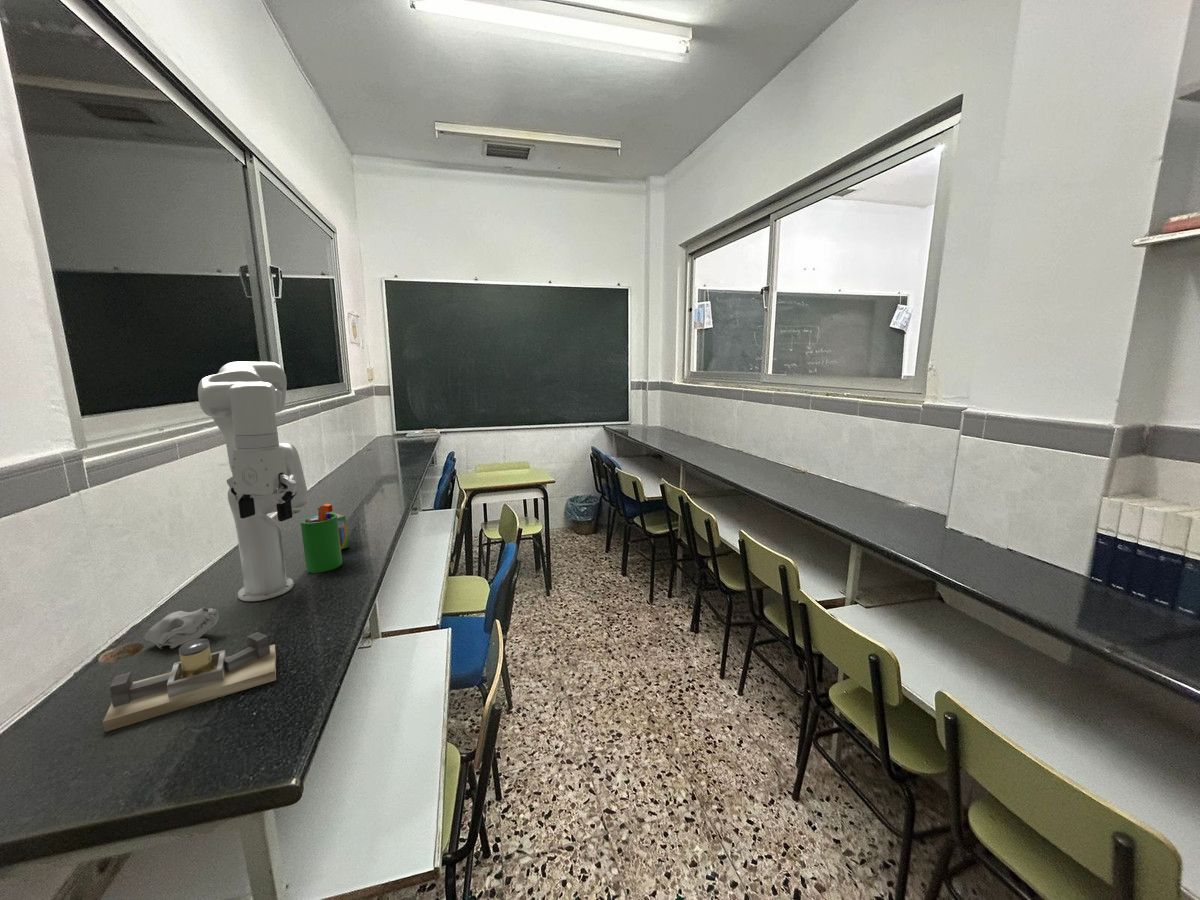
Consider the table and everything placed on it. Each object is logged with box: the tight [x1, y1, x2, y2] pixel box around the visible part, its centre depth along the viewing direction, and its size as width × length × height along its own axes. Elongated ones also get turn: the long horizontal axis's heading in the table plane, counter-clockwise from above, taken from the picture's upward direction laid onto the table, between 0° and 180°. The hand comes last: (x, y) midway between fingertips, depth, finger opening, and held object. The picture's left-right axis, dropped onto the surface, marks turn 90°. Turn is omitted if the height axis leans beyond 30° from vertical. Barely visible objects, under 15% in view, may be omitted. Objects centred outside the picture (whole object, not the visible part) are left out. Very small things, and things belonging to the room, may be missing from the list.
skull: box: [144, 607, 220, 649], centre depth 105 cm, size 8×9×12 cm
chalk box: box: [304, 507, 350, 551], centre depth 158 cm, size 9×9×15 cm
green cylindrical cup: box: [300, 503, 343, 574], centre depth 144 cm, size 10×9×20 cm
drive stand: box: [102, 631, 277, 733], centre depth 90 cm, size 11×24×6 cm, turn 125°
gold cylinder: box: [178, 638, 213, 678], centre depth 89 cm, size 4×4×7 cm
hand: (266, 518), depth 103 cm, fingers open, 9 cm apart
